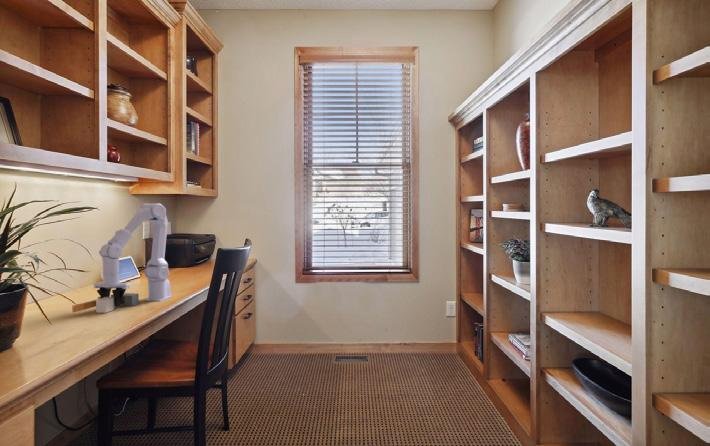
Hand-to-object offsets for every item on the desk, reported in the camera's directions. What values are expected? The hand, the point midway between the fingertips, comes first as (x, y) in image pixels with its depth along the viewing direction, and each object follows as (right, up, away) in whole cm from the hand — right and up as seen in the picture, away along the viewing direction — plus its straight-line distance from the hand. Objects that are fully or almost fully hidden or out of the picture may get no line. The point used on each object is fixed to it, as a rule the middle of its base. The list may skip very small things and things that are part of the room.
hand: (112, 305), depth 163 cm
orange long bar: (-6, 0, -5) cm, 8 cm away
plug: (0, -1, -3) cm, 3 cm away
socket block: (0, -1, +4) cm, 4 cm away
